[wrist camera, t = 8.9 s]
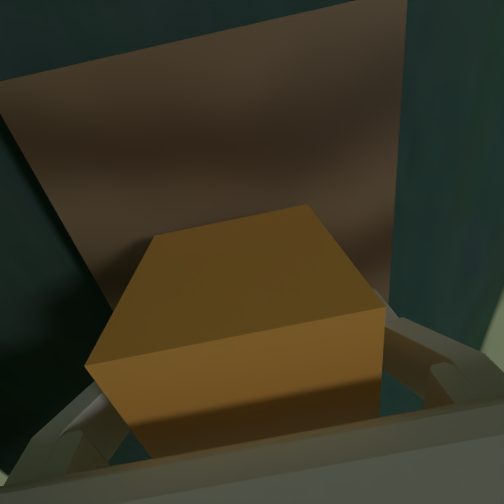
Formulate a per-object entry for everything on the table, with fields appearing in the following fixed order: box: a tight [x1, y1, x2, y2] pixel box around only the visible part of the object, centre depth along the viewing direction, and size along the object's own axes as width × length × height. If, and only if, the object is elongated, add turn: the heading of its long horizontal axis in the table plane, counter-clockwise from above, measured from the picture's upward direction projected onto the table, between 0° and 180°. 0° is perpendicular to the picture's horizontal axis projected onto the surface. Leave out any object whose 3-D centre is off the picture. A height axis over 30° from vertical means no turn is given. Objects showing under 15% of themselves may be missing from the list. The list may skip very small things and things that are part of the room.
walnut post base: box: [0, 0, 407, 312], centre depth 12 cm, size 18×14×6 cm
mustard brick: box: [84, 204, 386, 459], centre depth 9 cm, size 6×6×6 cm
